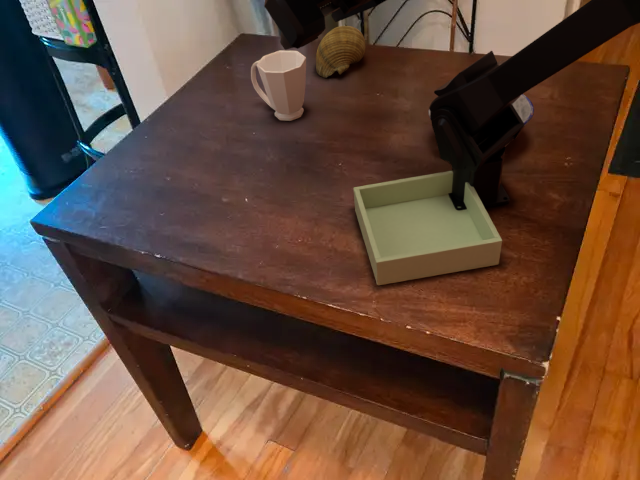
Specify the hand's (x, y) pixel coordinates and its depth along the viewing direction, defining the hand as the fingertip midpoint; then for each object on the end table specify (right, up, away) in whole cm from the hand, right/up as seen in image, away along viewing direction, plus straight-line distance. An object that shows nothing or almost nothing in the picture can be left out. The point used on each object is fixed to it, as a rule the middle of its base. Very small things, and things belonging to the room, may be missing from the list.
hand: (309, 31), depth 76 cm
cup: (-4, -6, +14) cm, 16 cm away
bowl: (+22, -13, +4) cm, 26 cm away
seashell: (+5, +4, +22) cm, 23 cm away
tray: (+13, -27, -8) cm, 31 cm away
